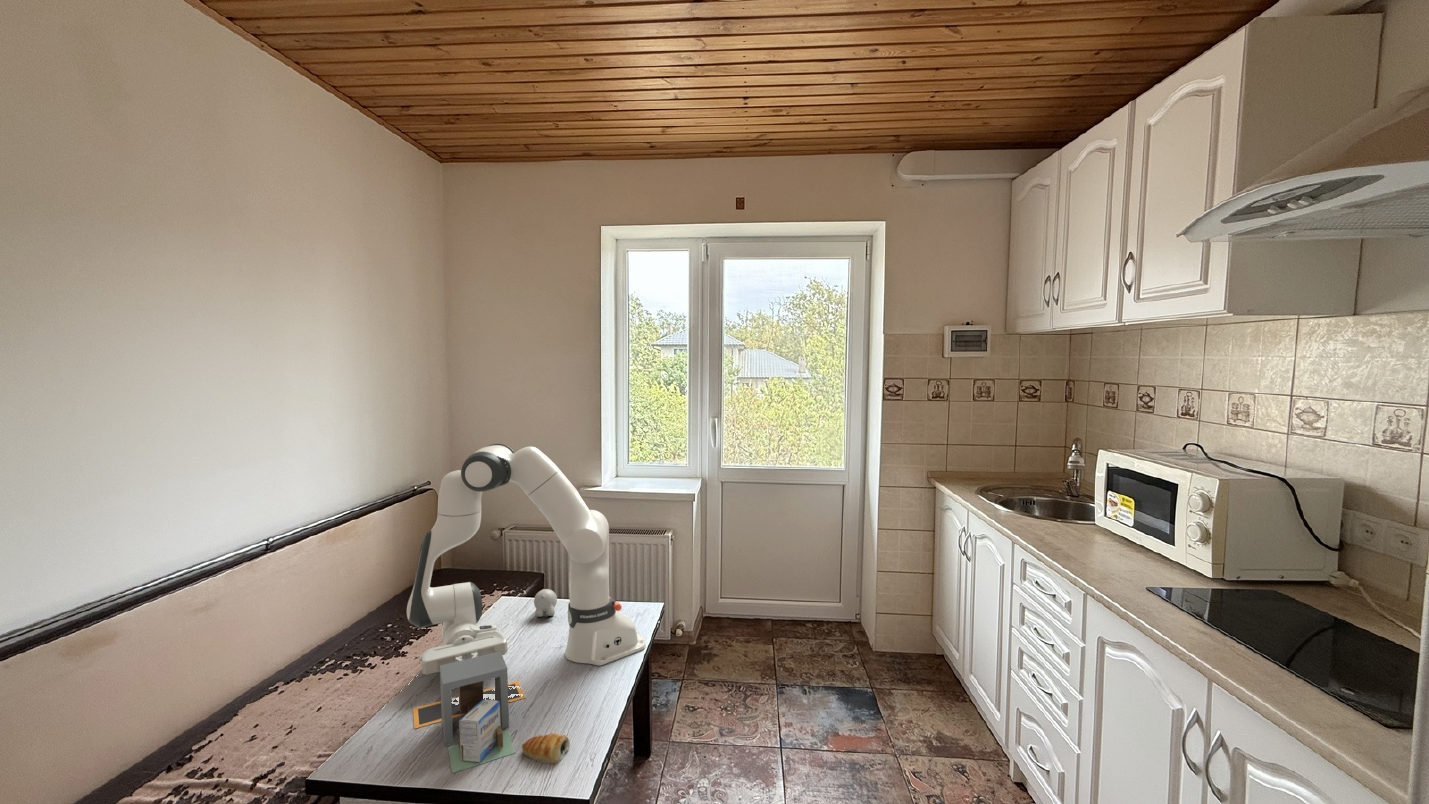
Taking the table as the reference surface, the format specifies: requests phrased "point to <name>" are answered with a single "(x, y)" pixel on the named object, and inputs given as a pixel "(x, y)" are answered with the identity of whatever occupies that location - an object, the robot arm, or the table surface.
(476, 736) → the medicine box
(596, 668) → the table surface
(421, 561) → the robot arm
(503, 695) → the tunnel
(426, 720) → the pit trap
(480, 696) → the block
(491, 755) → the pad
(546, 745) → the pastry
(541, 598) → the round bodied animal figurine
